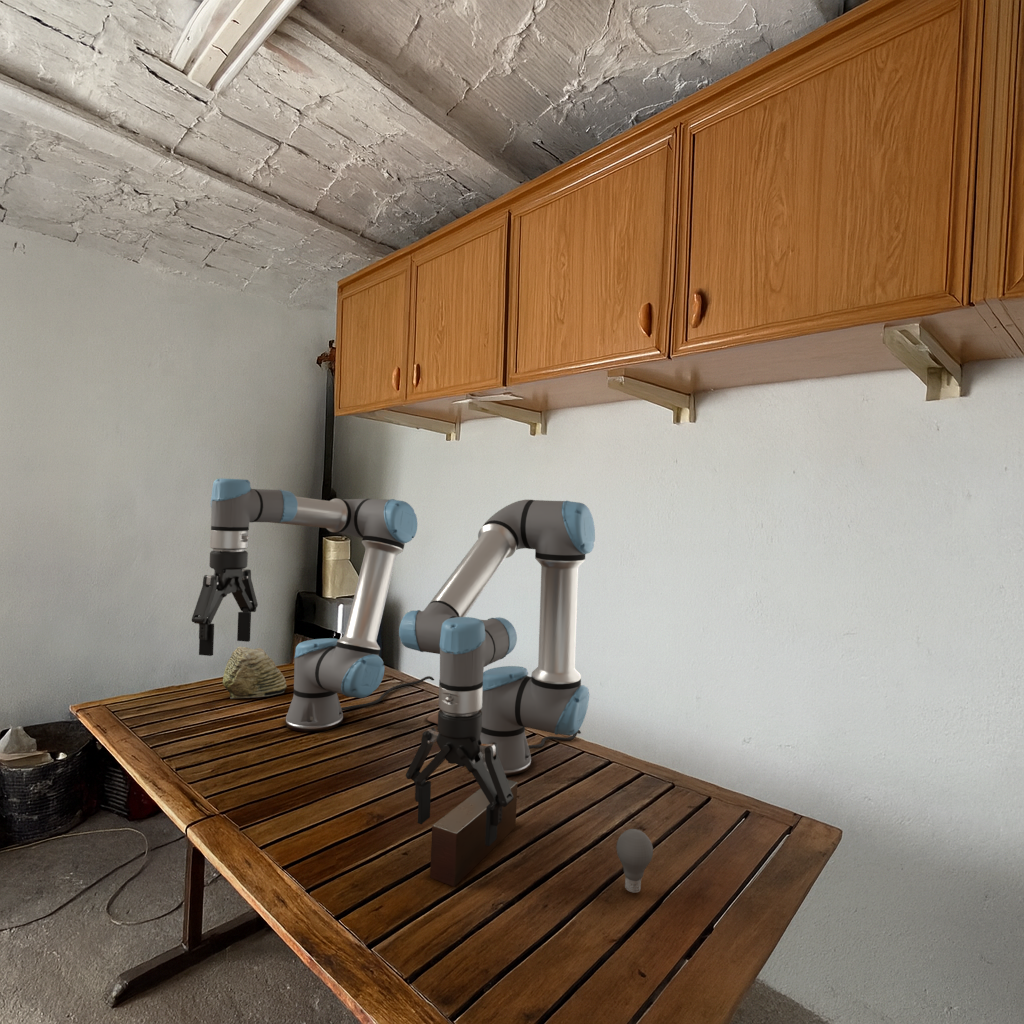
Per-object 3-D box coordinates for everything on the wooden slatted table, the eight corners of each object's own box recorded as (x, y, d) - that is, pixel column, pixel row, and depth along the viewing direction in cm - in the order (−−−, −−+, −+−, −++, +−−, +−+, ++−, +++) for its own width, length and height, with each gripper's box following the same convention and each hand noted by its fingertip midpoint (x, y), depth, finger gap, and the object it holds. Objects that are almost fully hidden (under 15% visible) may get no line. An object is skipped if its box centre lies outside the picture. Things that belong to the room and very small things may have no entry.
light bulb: (610, 879, 108) (613, 822, 108) (644, 879, 109) (647, 822, 109) (619, 902, 102) (622, 840, 102) (655, 901, 103) (658, 840, 103)
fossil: (218, 695, 195) (220, 647, 195) (278, 685, 208) (279, 640, 207) (228, 703, 189) (230, 653, 188) (289, 692, 201) (290, 645, 201)
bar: (494, 820, 127) (495, 776, 127) (515, 827, 125) (517, 782, 125) (429, 877, 107) (432, 825, 107) (454, 886, 105) (456, 833, 105)
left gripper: (209, 555, 124) (205, 663, 124) (275, 547, 149) (272, 637, 149) (174, 553, 125) (170, 660, 125) (245, 545, 150) (242, 634, 150)
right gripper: (388, 702, 111) (384, 821, 112) (515, 731, 100) (511, 863, 100) (413, 690, 117) (410, 802, 118) (535, 716, 106) (531, 840, 107)
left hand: (225, 647), depth 137 cm, fingers open, 13 cm apart
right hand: (456, 830), depth 109 cm, fingers open, 13 cm apart
